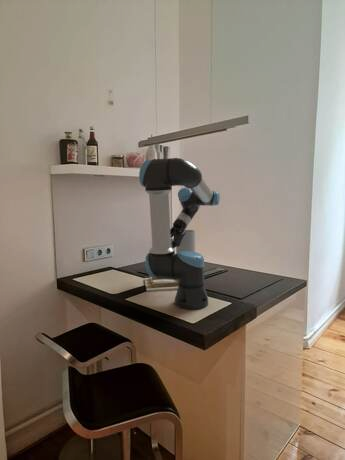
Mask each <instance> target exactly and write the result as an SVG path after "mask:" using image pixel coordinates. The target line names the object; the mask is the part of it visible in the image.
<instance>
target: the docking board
mask: <svg viewBox="0 0 345 460" xmlns="http://www.w3.org/2000/svg"><path fill="white" fill-rule="evenodd" d="M143 280H144V284H145V292H146V293H147V292H149V293H150V292H163V291H165V292H166V291H177V290H178V280H172V279H158V278H153V277H150V275H149V277H144V279H143Z"/></svg>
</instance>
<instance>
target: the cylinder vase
mask: <svg viewBox="0 0 345 460" xmlns="http://www.w3.org/2000/svg"><path fill="white" fill-rule="evenodd" d="M184 231H185V232H186V233H185V235H184V236H183V239H182V241H181V243H180V246H179V247H178V246H176V247H175V251H176V252H175V254H178V252H180V251H192V252H196V230H192V229H185V230H184Z"/></svg>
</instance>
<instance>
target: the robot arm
mask: <svg viewBox="0 0 345 460" xmlns="http://www.w3.org/2000/svg"><path fill="white" fill-rule="evenodd" d="M202 174H203V173H202V172H201V170H200V169H199V168H198V167H197V166H196V164H195V165H194V164H193V163H191V162H190V161H188V160H187V159H183V158H179V157H172V158H153V159H147V160H144V161H143V163H142V164H141V166H140V168H139V172H138V179H139V182H140V185H141V186H142V187H143V188H145V189H144V190H145V192H146V193H147V194H148V196H149V214H150V215H149V216H150V217H149V218H150V233H151V248H150V249H149V250H148V251H149V252H148V253H147V254H146V255H145V261H144V265H145V271H146V274H147V275H149V276H150V277H153V278H158V279H172V280H178V290H176V292H175V293H176V294H175V297H174V305H175V306H176V307H178V308H180V309H185V310H199V309H203V308H205V307H208V305H209V297H208V294H207V291H206V288H205V265H206V264H205V258H204V256H203V254H201V253H199V252H196V251H195V252H192V251H180V252H178V254H176V252H175V251H176V246H178V247H179V246H180V243H181V241H182V239H183V236H184V235H185V233H186V232H185V231H184V230H187V228H188V226H189V224H190V223H191V221H192V220H193V218H194V217H195V215H196V214H197V212H198V211H199V210H200V208H201V206H206V207H207V206H209V207H210V206H212V207H213V206H219V204H220V200H221V196H220V193H219V191H215V190H211V188H210V186H209V185H208V184H207V182H206V181H205V179H203V175H202ZM175 186H177V187H179V186H181V187H182V186H183V187H182V188H180V189H179V190H178V192H177V198H178V201H179V203H180V205H181V207H182V210H181V211H180V212H179V214H178V216H177V217H176V219H175V220H174V221H173V223H172V227H171V217H170V197H169V194H170V193H171V191H172V187H175ZM171 239H173V243H172V244H171Z"/></svg>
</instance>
